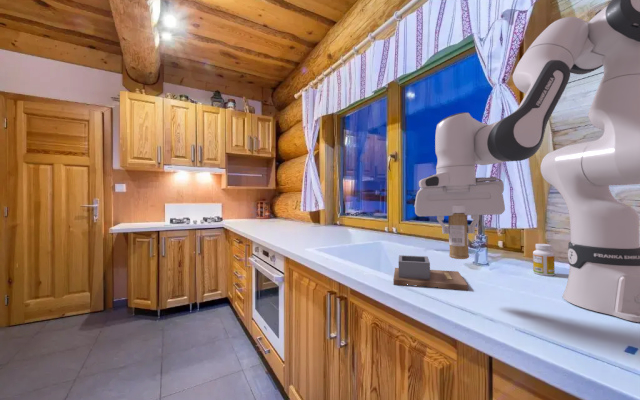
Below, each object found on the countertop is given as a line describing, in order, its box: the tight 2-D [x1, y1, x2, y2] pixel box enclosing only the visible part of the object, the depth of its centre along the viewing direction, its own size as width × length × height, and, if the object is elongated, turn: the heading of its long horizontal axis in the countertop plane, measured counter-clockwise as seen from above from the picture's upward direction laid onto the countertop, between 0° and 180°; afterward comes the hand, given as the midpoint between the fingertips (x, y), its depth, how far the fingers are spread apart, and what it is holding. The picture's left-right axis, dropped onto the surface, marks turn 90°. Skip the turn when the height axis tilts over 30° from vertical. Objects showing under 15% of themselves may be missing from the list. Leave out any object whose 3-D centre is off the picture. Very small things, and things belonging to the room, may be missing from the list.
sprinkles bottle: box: [447, 205, 470, 260], centre depth 68 cm, size 5×5×14 cm
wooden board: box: [393, 267, 469, 291], centre depth 84 cm, size 20×14×2 cm
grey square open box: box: [398, 254, 431, 280], centre depth 85 cm, size 9×9×5 cm
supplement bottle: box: [532, 243, 555, 277], centre depth 88 cm, size 5×5×10 cm
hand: (458, 233), depth 68 cm, fingers closed on sprinkles bottle, 4 cm apart
